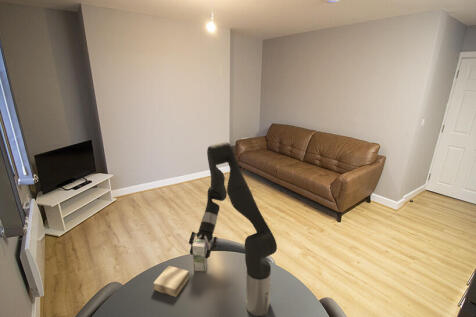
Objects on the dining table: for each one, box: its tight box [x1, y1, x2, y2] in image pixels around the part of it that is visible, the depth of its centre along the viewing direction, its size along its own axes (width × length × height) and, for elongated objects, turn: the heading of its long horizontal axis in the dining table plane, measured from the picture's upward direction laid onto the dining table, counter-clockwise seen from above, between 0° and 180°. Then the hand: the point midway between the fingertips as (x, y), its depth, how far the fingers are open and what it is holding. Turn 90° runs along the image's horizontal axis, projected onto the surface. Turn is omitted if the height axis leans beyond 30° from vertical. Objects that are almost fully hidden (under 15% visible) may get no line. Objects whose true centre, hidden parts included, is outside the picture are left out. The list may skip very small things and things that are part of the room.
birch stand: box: [153, 265, 190, 298], centre depth 104 cm, size 11×11×4 cm
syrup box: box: [192, 238, 208, 272], centre depth 112 cm, size 6×6×14 cm
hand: (198, 256), depth 111 cm, fingers open, 7 cm apart
